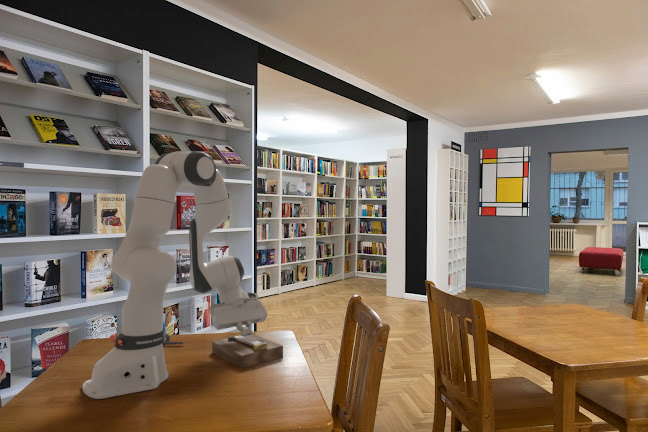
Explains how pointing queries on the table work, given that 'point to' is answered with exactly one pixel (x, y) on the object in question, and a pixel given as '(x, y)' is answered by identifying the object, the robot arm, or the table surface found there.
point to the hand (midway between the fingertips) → (248, 334)
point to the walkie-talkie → (170, 342)
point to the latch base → (247, 351)
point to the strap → (246, 340)
